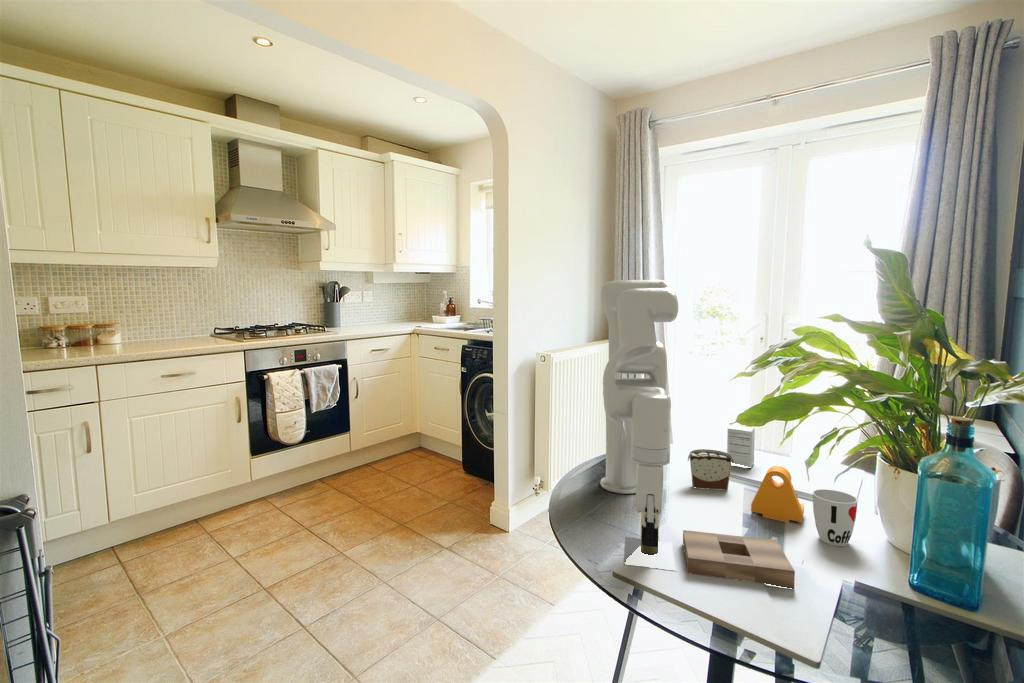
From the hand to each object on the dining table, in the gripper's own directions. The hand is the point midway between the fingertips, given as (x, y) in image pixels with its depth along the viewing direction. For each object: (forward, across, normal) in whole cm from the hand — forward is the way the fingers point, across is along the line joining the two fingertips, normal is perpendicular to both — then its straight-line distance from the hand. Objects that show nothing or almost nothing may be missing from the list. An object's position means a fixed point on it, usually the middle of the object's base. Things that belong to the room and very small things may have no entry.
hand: (649, 540), depth 97 cm
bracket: (+4, -29, +31) cm, 43 cm away
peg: (+3, 0, 0) cm, 3 cm away
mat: (+3, 0, 0) cm, 3 cm away
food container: (+3, -46, +17) cm, 49 cm away
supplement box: (+4, -69, +30) cm, 75 cm away
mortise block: (+3, 0, +16) cm, 16 cm away
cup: (+3, -17, +39) cm, 43 cm away
